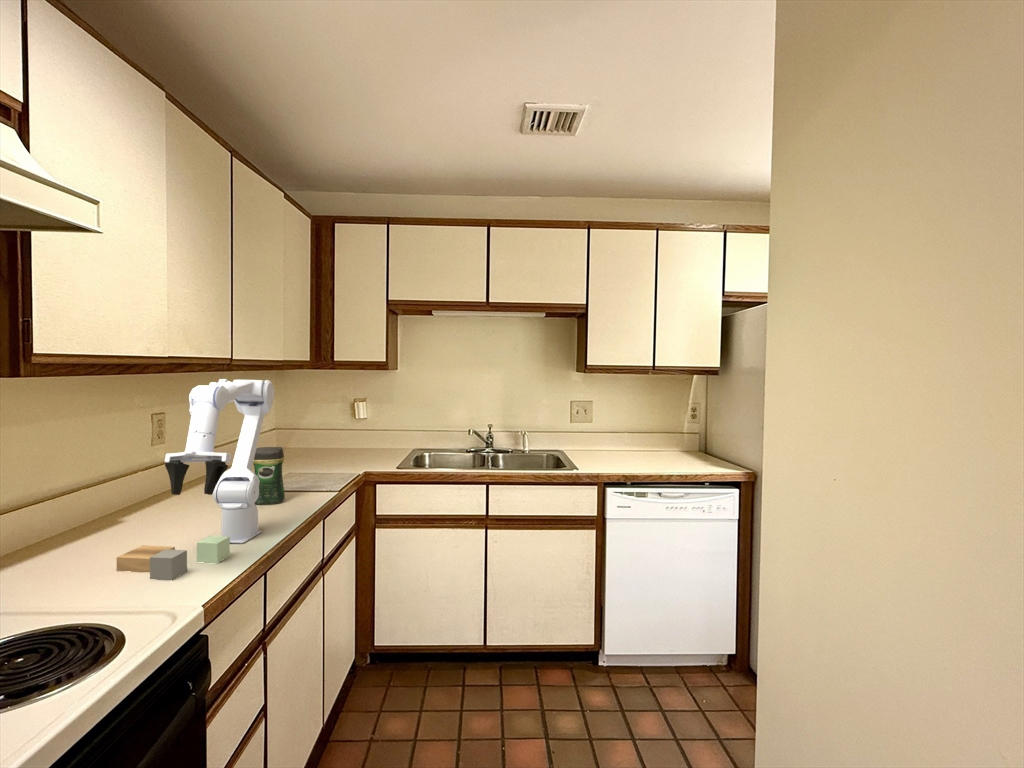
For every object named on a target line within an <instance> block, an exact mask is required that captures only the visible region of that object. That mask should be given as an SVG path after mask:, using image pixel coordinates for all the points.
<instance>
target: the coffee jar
mask: <svg viewBox="0 0 1024 768" xmlns="http://www.w3.org/2000/svg"><path fill="white" fill-rule="evenodd" d="M284 461H285V454H284V449H283V447H282V446H263V447H257V448H256V452H255V456H254V461H253V465H252V466H253V468H254V473H255V474H256V475H257V476H258V478H259V480H260V482H259V495H258V499H257V501H256V502H255V503H254V504H255V505H273V504H274V505H275V504H276V505H277V504H279V503H282V502H284V500H285V496H286V495H285V488H284V487H285V486H284V480H283V463H284Z"/></svg>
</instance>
